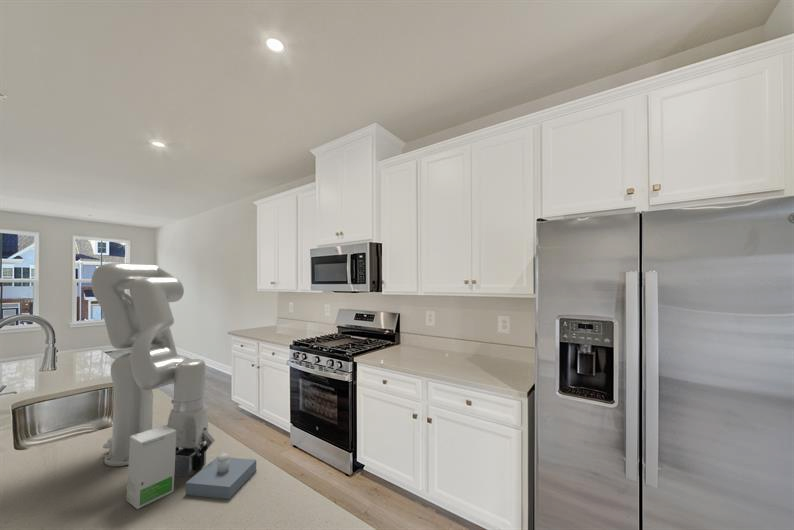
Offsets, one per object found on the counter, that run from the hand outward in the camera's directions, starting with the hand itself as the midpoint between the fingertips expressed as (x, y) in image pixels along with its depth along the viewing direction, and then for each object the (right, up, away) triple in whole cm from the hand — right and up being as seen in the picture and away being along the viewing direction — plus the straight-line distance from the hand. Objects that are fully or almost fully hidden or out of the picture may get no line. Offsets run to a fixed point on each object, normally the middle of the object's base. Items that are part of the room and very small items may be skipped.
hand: (187, 466), depth 93 cm
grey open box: (0, -1, 0) cm, 1 cm away
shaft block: (+13, -1, -6) cm, 15 cm away
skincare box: (-2, 0, -11) cm, 12 cm away
